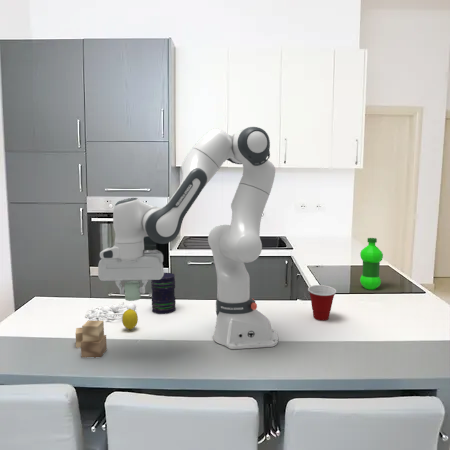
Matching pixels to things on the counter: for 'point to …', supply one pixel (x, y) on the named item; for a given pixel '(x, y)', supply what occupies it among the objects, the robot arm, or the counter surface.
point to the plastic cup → (321, 301)
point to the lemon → (130, 319)
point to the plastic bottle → (371, 265)
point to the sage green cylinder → (132, 290)
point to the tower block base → (93, 348)
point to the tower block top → (93, 331)
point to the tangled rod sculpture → (109, 311)
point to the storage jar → (163, 294)
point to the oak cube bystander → (79, 337)
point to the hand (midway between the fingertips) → (132, 293)
